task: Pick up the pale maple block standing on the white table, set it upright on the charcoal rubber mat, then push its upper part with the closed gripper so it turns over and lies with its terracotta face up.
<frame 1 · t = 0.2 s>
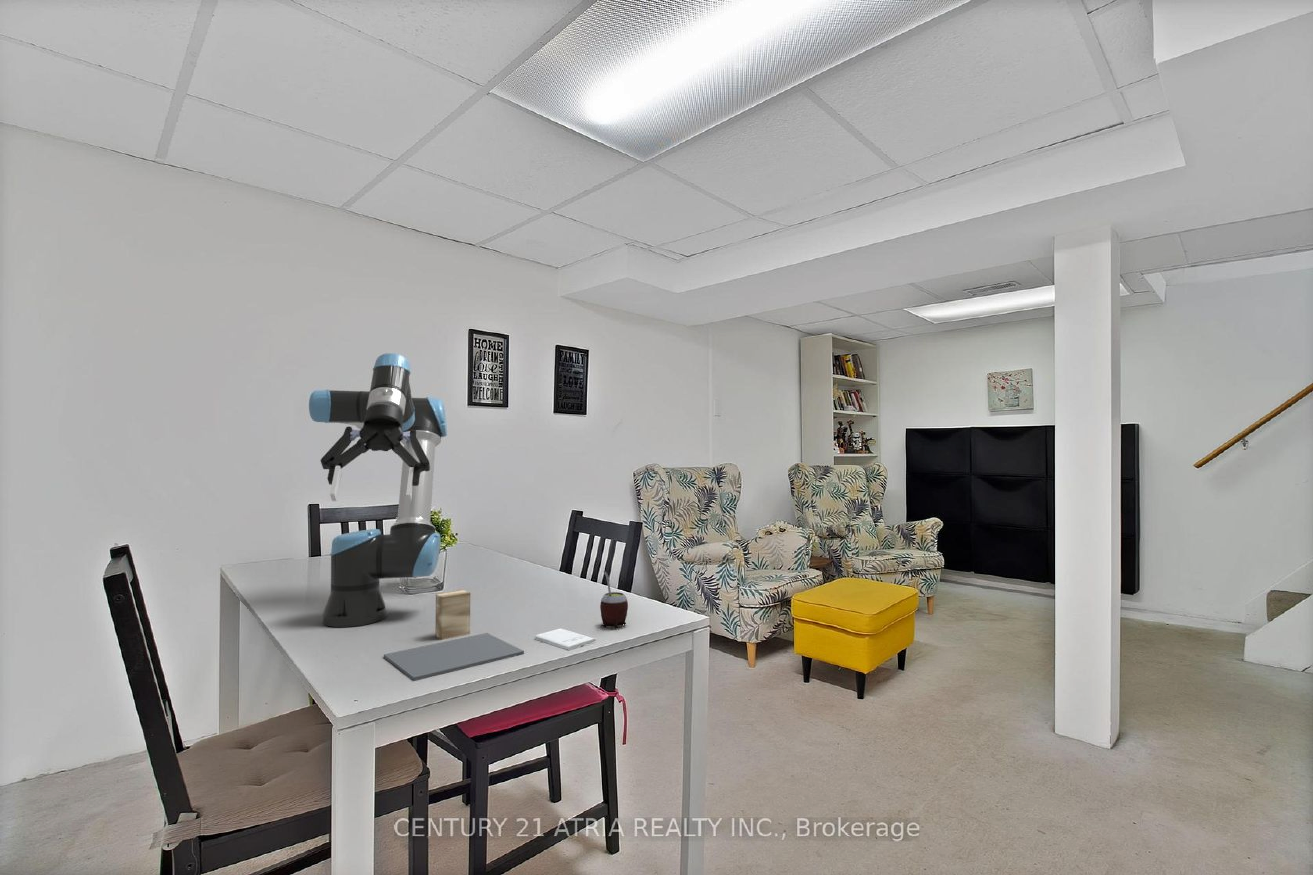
hand: (371, 498, 119), 35 cm above the table, tool tilted 35°, fingers open, 13 cm apart
mat: (454, 655, 133), on the table
external hard drive: (565, 644, 143), on the table
mate gourd: (613, 626, 156), on the table
face block: (452, 634, 148), on the table
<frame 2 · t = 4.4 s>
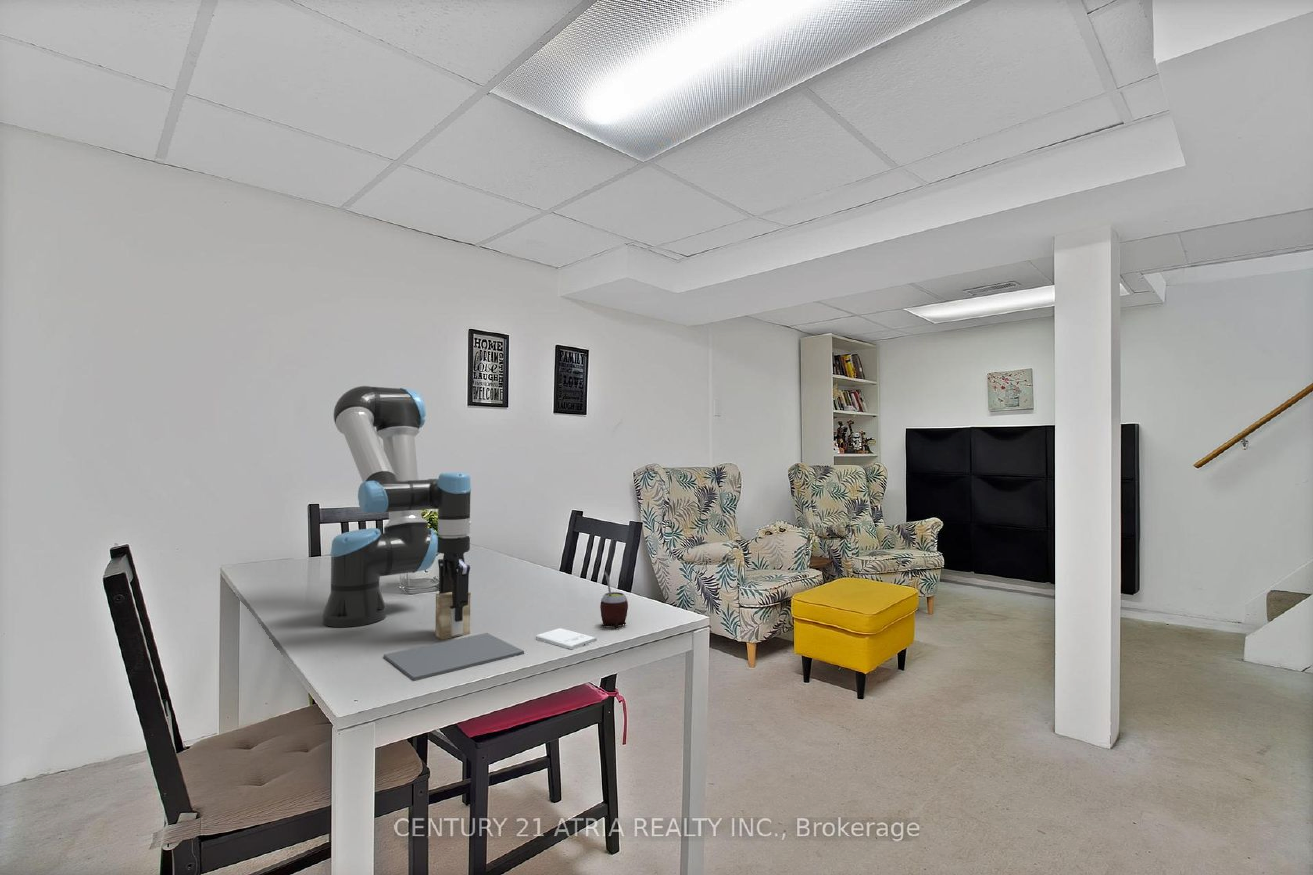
hand: (452, 631, 148), 1 cm above the table, tool pointing down, fingers closed on face block, 4 cm apart
face block: (452, 634, 148), on the table, touching gripper
everything else where it was.
when the fingers open (3 cm above the table, at t = 10.0 s): face block stays where it is, resting on mat.
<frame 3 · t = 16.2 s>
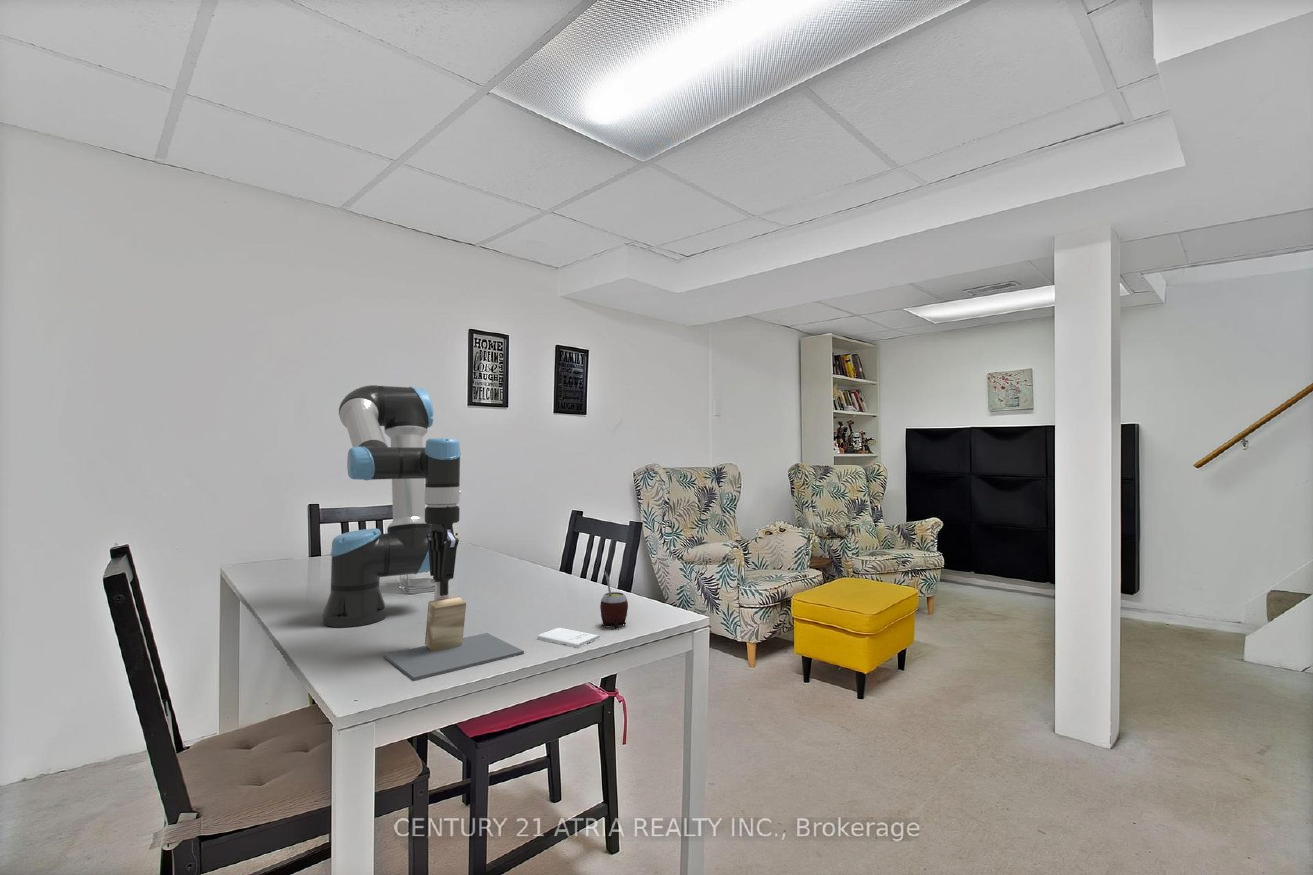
hand: (441, 609, 138), 9 cm above the table, tool pointing down, fingers closed
external hard drive: (568, 642, 145), on the table
face block: (443, 644, 137), point 1 cm above the table, tilted 11°, touching mat
everything else where it was.
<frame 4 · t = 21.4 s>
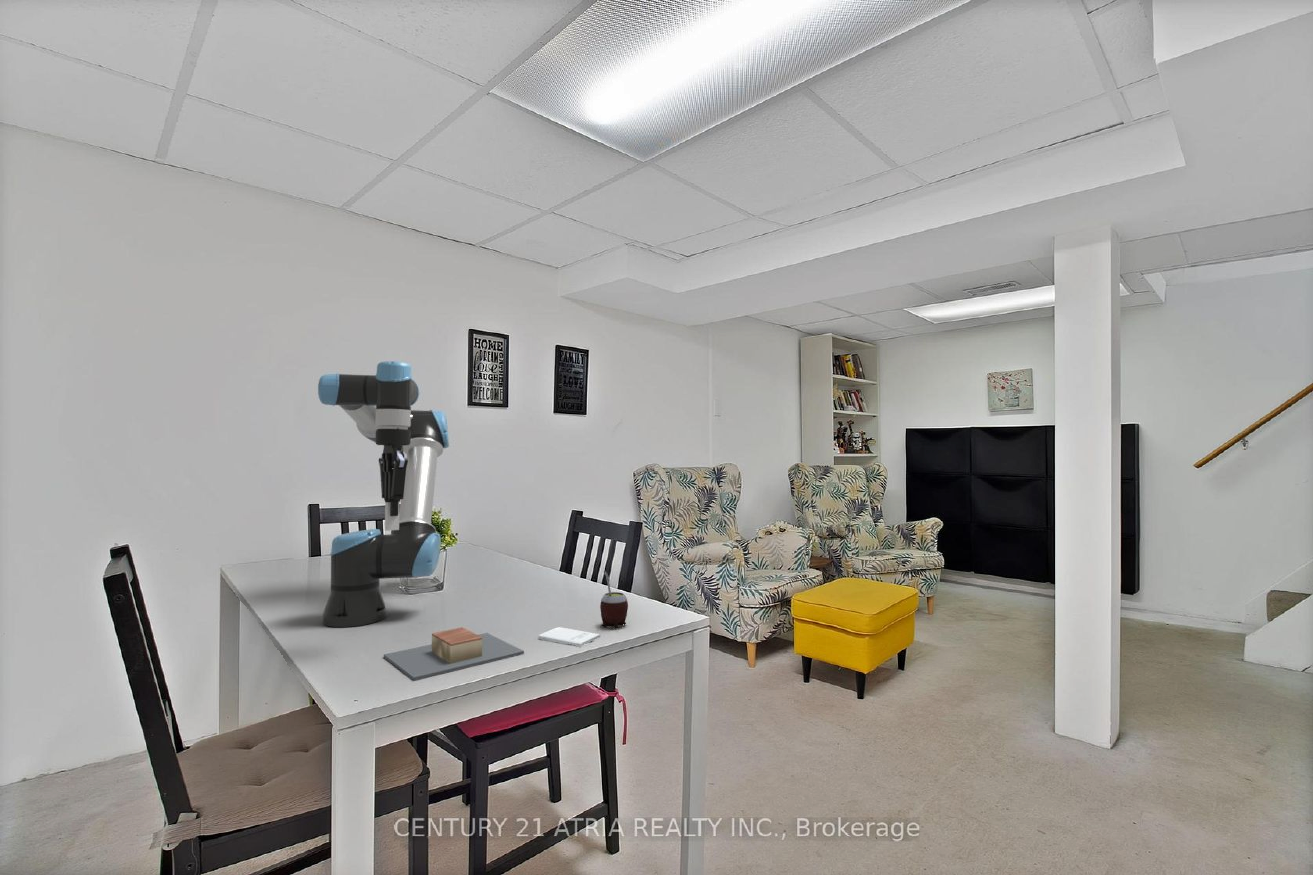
hand: (392, 529, 141), 26 cm above the table, tool pointing down, fingers closed
face block: (447, 639, 136), point 3 cm above the table, tilted 90°, touching mat
everything else where it was.
at the end: face block tilted 90°; face block inside the target area (3.5 cm from its centre), point 2.6 cm above the table; the gripper is holding nothing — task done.
